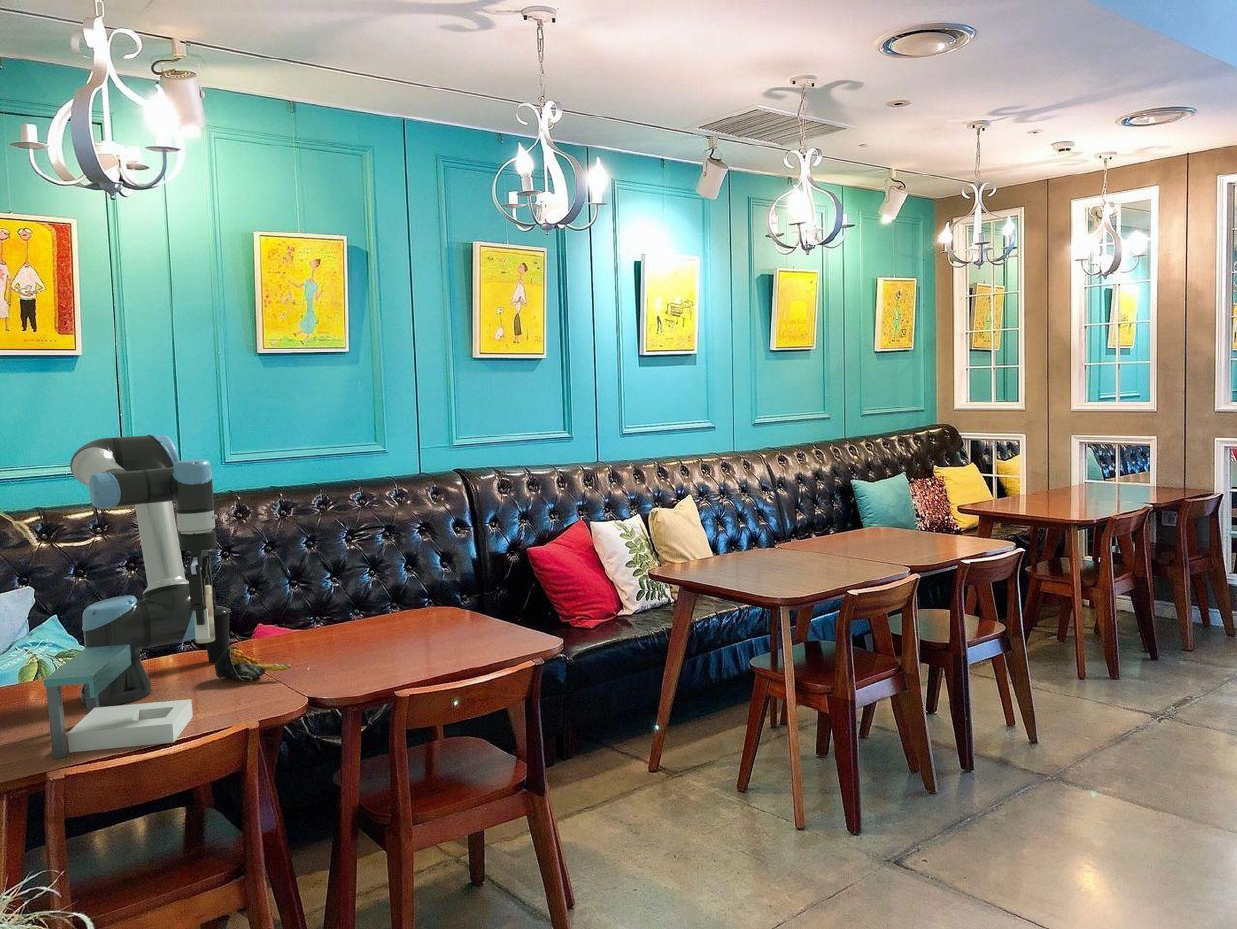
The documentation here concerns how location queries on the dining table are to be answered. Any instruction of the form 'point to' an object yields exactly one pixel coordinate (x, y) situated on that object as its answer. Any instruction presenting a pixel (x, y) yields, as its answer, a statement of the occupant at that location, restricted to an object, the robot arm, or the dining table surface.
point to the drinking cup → (219, 632)
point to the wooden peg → (210, 616)
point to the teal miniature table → (88, 669)
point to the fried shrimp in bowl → (243, 666)
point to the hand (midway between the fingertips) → (204, 635)
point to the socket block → (130, 725)
